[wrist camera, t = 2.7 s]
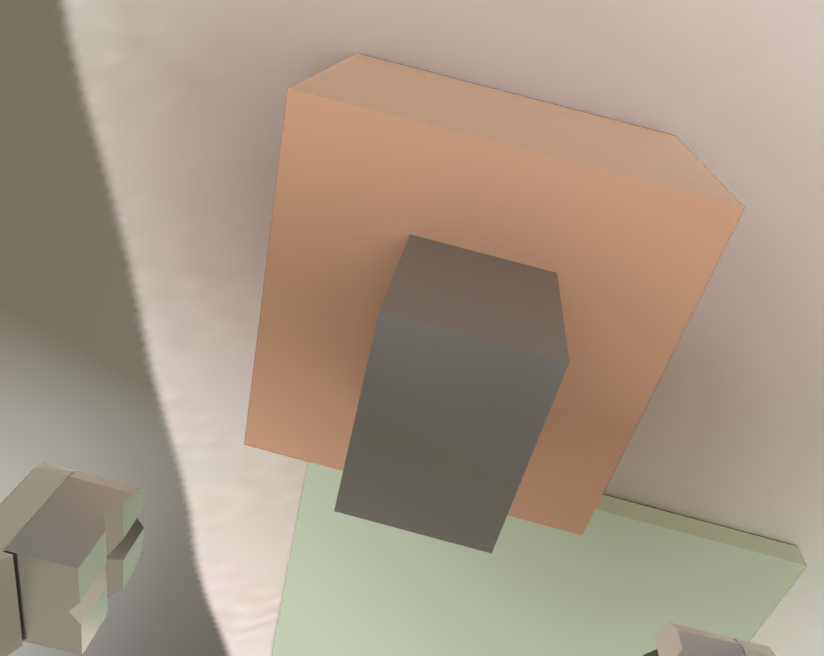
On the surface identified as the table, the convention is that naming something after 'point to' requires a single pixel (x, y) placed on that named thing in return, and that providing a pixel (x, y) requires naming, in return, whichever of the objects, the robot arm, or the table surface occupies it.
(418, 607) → the sage board
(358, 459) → the peach base with post
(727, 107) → the table surface
